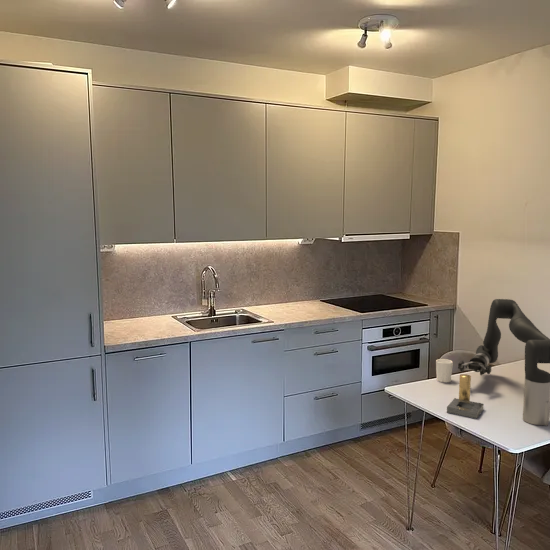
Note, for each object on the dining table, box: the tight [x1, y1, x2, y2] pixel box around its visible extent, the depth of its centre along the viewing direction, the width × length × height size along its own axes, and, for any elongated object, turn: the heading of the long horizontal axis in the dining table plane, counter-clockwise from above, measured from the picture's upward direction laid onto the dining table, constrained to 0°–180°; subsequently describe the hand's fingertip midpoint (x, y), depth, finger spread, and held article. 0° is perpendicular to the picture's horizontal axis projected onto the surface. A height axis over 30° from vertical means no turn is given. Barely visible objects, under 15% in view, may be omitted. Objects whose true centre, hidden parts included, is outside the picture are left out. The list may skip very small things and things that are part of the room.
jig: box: [446, 398, 485, 420], centre depth 211 cm, size 12×12×2 cm
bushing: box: [458, 373, 472, 401], centre depth 221 cm, size 5×5×12 cm
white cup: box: [435, 358, 453, 383], centre depth 250 cm, size 8×8×10 cm
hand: (471, 371), depth 230 cm, fingers open, 8 cm apart
